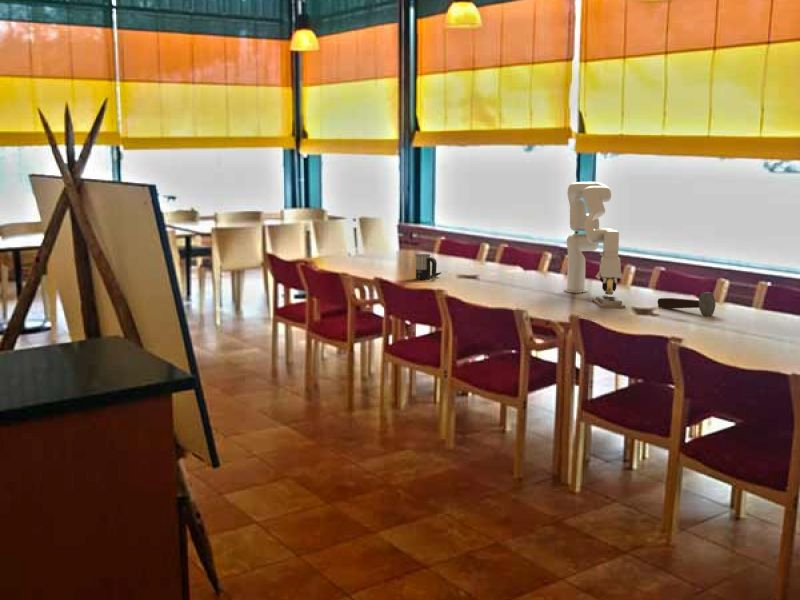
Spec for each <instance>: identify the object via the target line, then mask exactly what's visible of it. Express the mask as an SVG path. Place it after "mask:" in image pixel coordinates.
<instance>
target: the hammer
mask: <svg viewBox="0 0 800 600" xmlns="http://www.w3.org/2000/svg"><path fill="white" fill-rule="evenodd" d="M657 307H658V308H659V307H662V308H661V309H668V308H671V309H696V308H698V309H699V311H700V314H701V315H702V316H703V315H706V316H705V317H709V316H708V315H712V316H713V314H714V313H715V310H716V300H715V296H714V294H713V292H711V291H710V292H709V291H707V292H706V291H705V292H701V293H700V295H699V298H698V299H697V300H696V299H688V298H687V299H686V298H678V297H677V298H676V297H662V298H658V299H657Z"/></svg>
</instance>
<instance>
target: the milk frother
mask: <svg viewBox="0 0 800 600" xmlns="http://www.w3.org/2000/svg"><path fill="white" fill-rule="evenodd" d="M414 256H415V278H417V279H428V280H431V279H430V278H436V277H438V276H440V275H442V272H441V271H440V272H437V265H438V264H437V263H438V262H437V259H435V258H434V257H431V254H429V253H418V254H415V255H414ZM417 279H416V280H417Z"/></svg>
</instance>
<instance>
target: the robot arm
mask: <svg viewBox="0 0 800 600" xmlns="http://www.w3.org/2000/svg"><path fill="white" fill-rule="evenodd" d="M566 193H567V199H568V203H569V228H570V230H571V231H572V232H573V231H574V232H585V233H574V234H573V233H572V234H570V235H568V236H567V237H566V247H567V273H566V274H567V278H566V279H567V280H566V281H567V282H566V287H564V288H563V291H564V292H566V293H572V294H573V293H574V294H576V293H577V294H579V293H580V294H581V293H582V292H583V293H587V292H588V289H587V288H585V285H586V284H585V283H586V263H587V262H586V256H585V255H584V254H583V252H588V251H589V252H591V251H593V252H594V251H596V250H597V249H598V248H599V244H603V245H602V246H603V248H602V252H599V255H600V256H601V258H600V262H599V271H598V272H597V274H596V275H595V278H596V279H598V280H599V281H600V282H601V283H602V287H601V289H602V290H603V292H605V291H606V278H614V285H613V292H616V290H617V283H618V282H619V281H621V279H623V278H624V277H625V276H624V275H623V273H622V268H621V267H622V266H621V257H619V247H620V245H619V243H620V232H619V231H618V230H615V229H613V228H611V227H610V228H600V219H599V218H601V217H602V216H604V215H605V213H606V209H605V205H604V203H607V202H609V201H611V198H612V191H611V189H610V187H609V186H607V185H606V184H604V183H601V182H599V181H576V182H572V183H570V184H569V185H568V187H567V192H566ZM583 199H584V200H583ZM586 211H587V212H588V213H587V212H586Z"/></svg>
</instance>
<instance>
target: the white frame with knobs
mask: <svg viewBox="0 0 800 600" xmlns="http://www.w3.org/2000/svg"><path fill="white" fill-rule="evenodd" d="M591 300H592V302H593V301H594V304H596V305H597V306H598V307H599V306H600V309H624V308H625V309H626V305H625V304H624V303H623V301H622V300H621V299H620V298H619V297H617V296H616V295H615V296H613V295H609V296H608V295H607V294H605V295H604V294H603V295H602V296H595V297H593V298H592V299H591Z"/></svg>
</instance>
